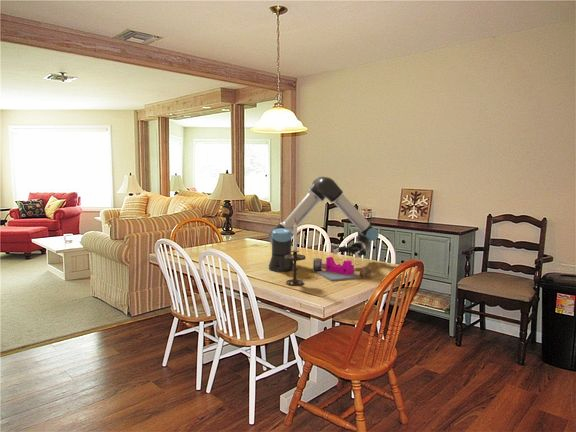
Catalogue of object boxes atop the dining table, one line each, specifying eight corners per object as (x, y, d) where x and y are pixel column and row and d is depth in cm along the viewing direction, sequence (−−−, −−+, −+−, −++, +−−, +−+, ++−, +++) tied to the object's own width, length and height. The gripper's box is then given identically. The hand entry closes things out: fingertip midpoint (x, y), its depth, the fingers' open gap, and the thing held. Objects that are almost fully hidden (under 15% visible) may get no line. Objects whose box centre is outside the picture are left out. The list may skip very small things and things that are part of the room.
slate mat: (331, 281, 222) (331, 279, 222) (316, 273, 239) (316, 271, 238) (360, 278, 229) (360, 276, 229) (344, 270, 245) (344, 268, 245)
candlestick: (283, 280, 222) (284, 215, 218) (304, 280, 223) (304, 215, 219) (285, 286, 212) (285, 218, 208) (306, 286, 212) (307, 218, 208)
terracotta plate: (321, 268, 251) (321, 263, 251) (321, 266, 256) (321, 261, 256) (334, 268, 251) (334, 264, 251) (334, 266, 256) (334, 262, 256)
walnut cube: (363, 278, 228) (363, 269, 227) (359, 276, 233) (359, 267, 232) (371, 278, 229) (372, 269, 229) (367, 275, 234) (367, 267, 234)
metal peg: (315, 272, 241) (315, 260, 240) (311, 270, 246) (311, 258, 245) (323, 271, 243) (323, 259, 242) (319, 269, 248) (319, 258, 247)
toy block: (353, 273, 236) (354, 260, 235) (347, 275, 231) (347, 261, 230) (332, 268, 246) (332, 256, 245) (326, 270, 241) (326, 257, 241)
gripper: (376, 256, 254) (364, 262, 236) (339, 251, 267) (324, 257, 248) (377, 244, 253) (365, 249, 235) (339, 240, 266) (325, 244, 248)
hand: (344, 253), depth 242 cm, fingers open, 13 cm apart
